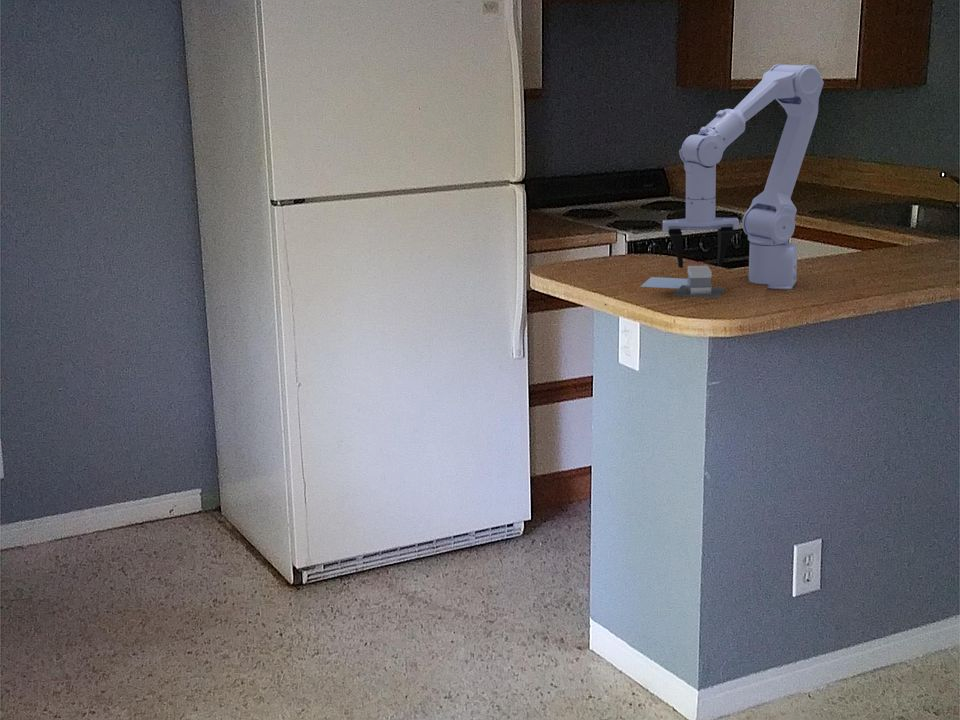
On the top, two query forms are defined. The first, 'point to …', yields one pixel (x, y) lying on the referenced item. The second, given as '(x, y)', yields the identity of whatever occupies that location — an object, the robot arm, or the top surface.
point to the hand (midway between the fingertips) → (700, 266)
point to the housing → (699, 280)
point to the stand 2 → (685, 292)
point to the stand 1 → (665, 282)
